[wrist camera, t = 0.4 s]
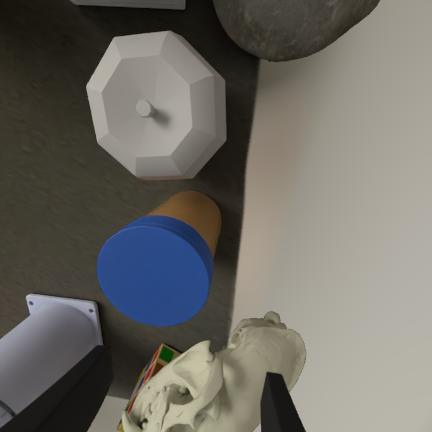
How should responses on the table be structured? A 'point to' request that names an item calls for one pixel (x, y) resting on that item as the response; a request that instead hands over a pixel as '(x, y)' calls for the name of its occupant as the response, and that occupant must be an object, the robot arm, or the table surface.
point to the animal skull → (219, 381)
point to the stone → (289, 24)
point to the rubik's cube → (151, 373)
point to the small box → (135, 3)
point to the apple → (157, 106)
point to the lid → (156, 270)
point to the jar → (194, 214)
